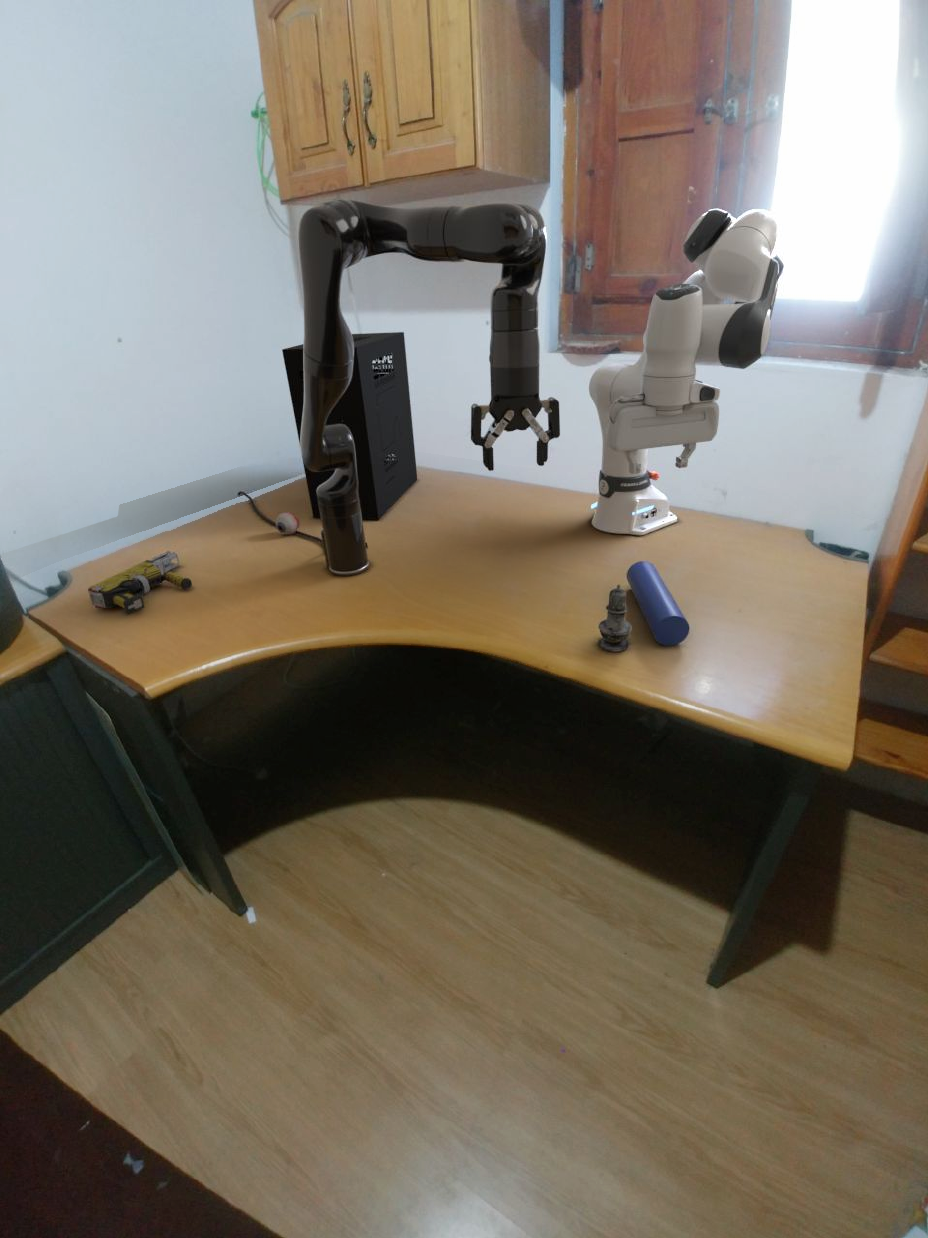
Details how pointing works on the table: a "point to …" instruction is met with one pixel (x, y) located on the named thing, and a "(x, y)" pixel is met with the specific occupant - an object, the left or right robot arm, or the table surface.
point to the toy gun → (136, 583)
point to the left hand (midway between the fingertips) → (515, 467)
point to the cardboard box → (368, 420)
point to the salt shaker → (615, 623)
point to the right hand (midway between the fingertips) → (657, 469)
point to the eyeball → (287, 523)
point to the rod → (657, 604)
